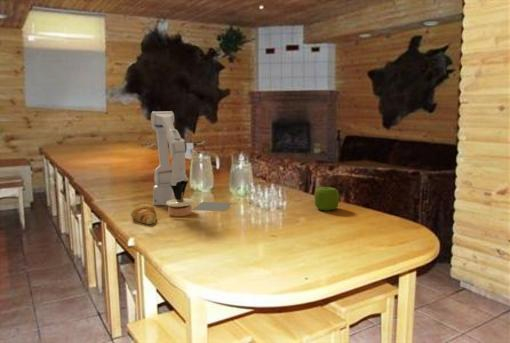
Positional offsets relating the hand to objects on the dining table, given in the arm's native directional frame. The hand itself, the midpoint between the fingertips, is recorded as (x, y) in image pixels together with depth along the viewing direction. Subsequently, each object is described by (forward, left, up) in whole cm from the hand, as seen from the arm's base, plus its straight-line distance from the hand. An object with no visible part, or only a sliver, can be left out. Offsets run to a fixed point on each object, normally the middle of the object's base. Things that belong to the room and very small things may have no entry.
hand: (179, 198), depth 194 cm
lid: (0, 0, -2) cm, 2 cm away
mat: (+11, +14, -7) cm, 19 cm away
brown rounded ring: (0, 0, -7) cm, 7 cm away
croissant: (-12, -11, -7) cm, 18 cm away
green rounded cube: (+63, +19, -7) cm, 66 cm away
